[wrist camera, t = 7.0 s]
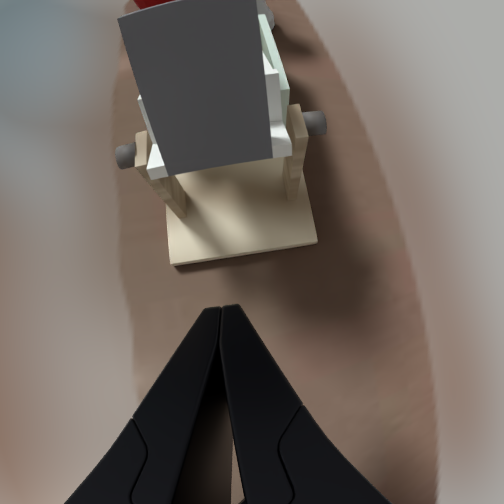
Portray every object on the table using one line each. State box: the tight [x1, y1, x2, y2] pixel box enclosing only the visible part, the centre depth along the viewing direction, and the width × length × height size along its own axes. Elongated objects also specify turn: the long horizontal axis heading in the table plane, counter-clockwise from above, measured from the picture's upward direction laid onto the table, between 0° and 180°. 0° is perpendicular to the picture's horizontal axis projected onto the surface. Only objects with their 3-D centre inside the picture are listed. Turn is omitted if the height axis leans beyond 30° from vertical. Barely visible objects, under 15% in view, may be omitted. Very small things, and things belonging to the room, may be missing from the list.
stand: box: [115, 104, 327, 266], centre depth 18 cm, size 8×10×9 cm
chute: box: [117, 0, 292, 180], centre depth 13 cm, size 11×6×7 cm, turn 7°
